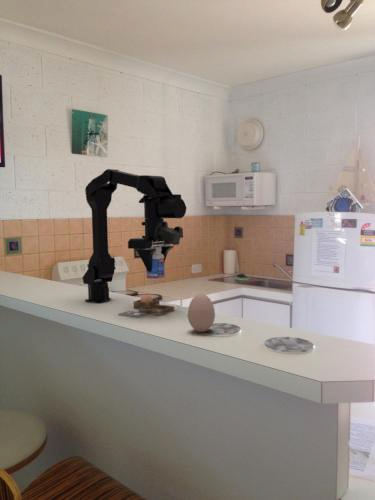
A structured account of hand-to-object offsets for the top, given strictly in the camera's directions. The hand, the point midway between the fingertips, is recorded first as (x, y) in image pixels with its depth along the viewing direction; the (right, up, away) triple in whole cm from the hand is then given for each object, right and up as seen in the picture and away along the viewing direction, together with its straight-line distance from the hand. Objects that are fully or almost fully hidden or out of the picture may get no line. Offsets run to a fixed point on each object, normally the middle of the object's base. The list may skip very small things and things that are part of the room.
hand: (155, 270), depth 139 cm
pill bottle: (0, -3, 0) cm, 3 cm away
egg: (+13, -15, -22) cm, 29 cm away
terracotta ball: (-3, -12, +7) cm, 14 cm away
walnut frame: (-3, -12, +7) cm, 14 cm away
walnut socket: (0, -12, +1) cm, 13 cm away
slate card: (-6, -13, -2) cm, 15 cm away
